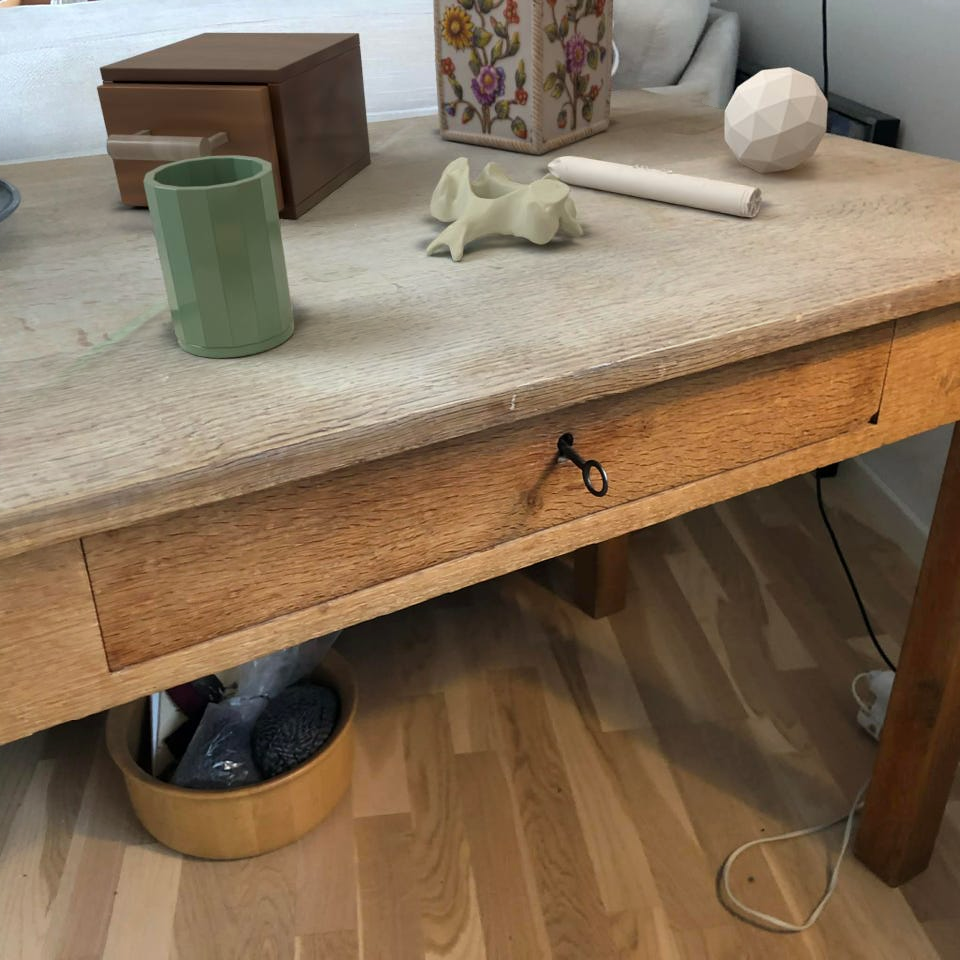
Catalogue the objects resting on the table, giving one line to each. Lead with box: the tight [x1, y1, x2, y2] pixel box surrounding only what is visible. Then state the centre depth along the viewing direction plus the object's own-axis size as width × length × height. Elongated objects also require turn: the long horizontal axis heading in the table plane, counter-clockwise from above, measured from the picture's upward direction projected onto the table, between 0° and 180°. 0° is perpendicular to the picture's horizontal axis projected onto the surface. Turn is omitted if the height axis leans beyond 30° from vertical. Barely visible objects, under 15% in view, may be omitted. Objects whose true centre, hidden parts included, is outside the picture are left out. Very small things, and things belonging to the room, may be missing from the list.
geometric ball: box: [724, 66, 829, 174], centre depth 79 cm, size 8×8×8 cm
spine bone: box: [426, 156, 584, 262], centre depth 68 cm, size 12×10×5 cm
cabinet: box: [99, 32, 372, 220], centre depth 80 cm, size 16×14×10 cm
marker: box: [546, 155, 763, 218], centre depth 75 cm, size 18×2×2 cm, turn 50°
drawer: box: [96, 81, 284, 212], centre depth 76 cm, size 19×13×8 cm, turn 165°
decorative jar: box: [432, 0, 614, 156], centre depth 89 cm, size 12×12×18 cm
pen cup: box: [143, 155, 295, 359], centre depth 54 cm, size 6×6×9 cm
